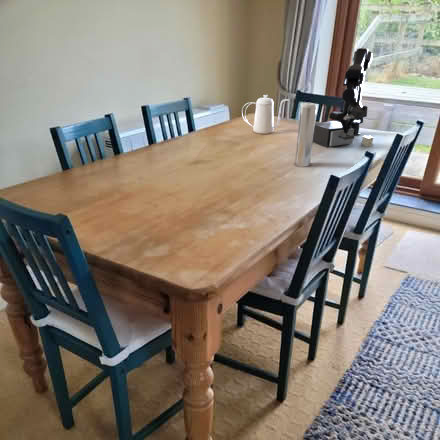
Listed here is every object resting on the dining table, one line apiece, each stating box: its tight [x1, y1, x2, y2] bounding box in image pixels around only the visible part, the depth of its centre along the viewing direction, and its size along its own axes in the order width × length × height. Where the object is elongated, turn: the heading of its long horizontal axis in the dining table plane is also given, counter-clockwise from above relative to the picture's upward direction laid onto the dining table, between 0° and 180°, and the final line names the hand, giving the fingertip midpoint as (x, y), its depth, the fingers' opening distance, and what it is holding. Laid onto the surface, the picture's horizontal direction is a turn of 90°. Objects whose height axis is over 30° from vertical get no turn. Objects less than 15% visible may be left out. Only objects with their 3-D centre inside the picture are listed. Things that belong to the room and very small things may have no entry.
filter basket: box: [361, 135, 375, 147], centre depth 226 cm, size 5×5×4 cm
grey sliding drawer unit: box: [313, 120, 352, 148], centre depth 228 cm, size 14×15×9 cm
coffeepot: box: [241, 94, 290, 135], centre depth 242 cm, size 11×25×19 cm, turn 84°
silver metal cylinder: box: [294, 102, 317, 167], centre depth 192 cm, size 6×6×25 cm
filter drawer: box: [328, 129, 355, 147], centre depth 224 cm, size 17×13×7 cm
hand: (345, 133), depth 219 cm, fingers closed
